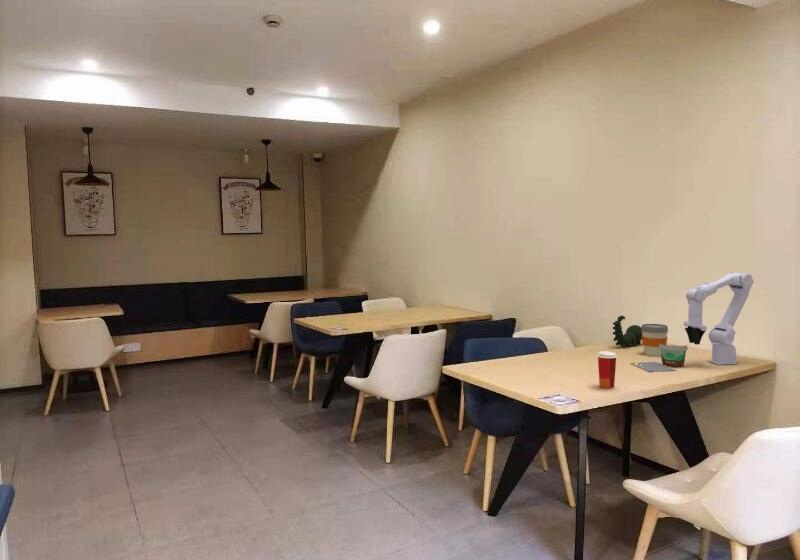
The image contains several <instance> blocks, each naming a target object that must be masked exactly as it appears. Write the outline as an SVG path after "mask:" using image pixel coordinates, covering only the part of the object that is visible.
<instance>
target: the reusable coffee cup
mask: <svg viewBox="0 0 800 560" xmlns="http://www.w3.org/2000/svg"><path fill="white" fill-rule="evenodd" d="M641 327H642V328H641V331H642V340H641V343H642V346H643V349H644V350H643V351H644V355H645V354H646V355H645V356H648V355H651V356H650V357H661V350H660V348H659V344H662V345H667V343H668V332H669V328H668V325H666V324H659V323H644V324H643V323H642V324H641Z"/></svg>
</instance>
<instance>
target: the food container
mask: <svg viewBox="0 0 800 560" xmlns="http://www.w3.org/2000/svg"><path fill="white" fill-rule="evenodd" d="M659 348H660V350H661V356H660V358H661V364H663V365H666V366H671V367H670V368H683V367H684V366H685V361H686V354H687V351H688V350H689V349H688V345H687V344H685V345H675V344H670V345H669V344H668V345H667V344H666V345H662V344H659ZM682 366H683V367H682Z"/></svg>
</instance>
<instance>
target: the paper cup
mask: <svg viewBox="0 0 800 560" xmlns="http://www.w3.org/2000/svg"><path fill="white" fill-rule="evenodd" d="M596 357H597V362H598V363H597V364H598V383H599V387H600V388H602V387H603V388H602V389H614V388H615V380H616V367H617V366H616V365H617V358H618V356H617V353H616V352H613V351H606V350H605V351H598V353H597V355H596ZM613 387H614V388H613Z"/></svg>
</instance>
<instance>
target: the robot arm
mask: <svg viewBox="0 0 800 560" xmlns="http://www.w3.org/2000/svg"><path fill="white" fill-rule="evenodd" d="M753 284H754V278H753V276H752V274H750V273H749V272H747V273H741V272H734V271H733V272H729V273H726V274H725V276H723V277H721V278H719V279H717V280H716V281H714V282H711V281H705V282H704V284H702V285H698V286H697V287H696V288H690V289H689V290H688V291H687V292H686V294H685V298H686V300H687V303H688V314H687V315H688V319H687V320H688V321H684V322H683V326H684V330H685V332H686V335H687V338H688V342H689V343H690V344H694V345H701V340H702V339H703V336H704V335H705V332H706V331H708V326H707V325H704V323H703V309H704V308H703V307H704V306H703V305H704V304H703V303H704V301H706V299H707V298H708V297H711V296H712V295H713V294H716V293H717V292H718V290H719V289H721V288H724V287H726V286H728V287H729V288H730V290H731V292H733V297H732V298H731V300H730V303H729V304H728V306H727V308H726V311H725V313H724V314H723V317H722V318H721V320H720V322H719V323H717V324H715V325H714V326H713V328H712V329H711V330H710V331H709V332H708V339H709V341H710V343H711V345H712V346H711V350H712V351H711V359H709V360H707V361H708V362H709V363H712V364H715V365H718V366H719V365H720V366H721V365H724V366H725V365H737V364H738V363H737V349H736V347H735V345H734V344H733V343H734V340H735V335H736V334H737V333H736V331H735V329H734V327H735V324H736V321H737V320H738V317H739V315H740V314H741V311H742V309H743V307H744V306H745V304H746V301H747V299H748V297H749V295H750V291H751V289H752V286H753Z"/></svg>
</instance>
